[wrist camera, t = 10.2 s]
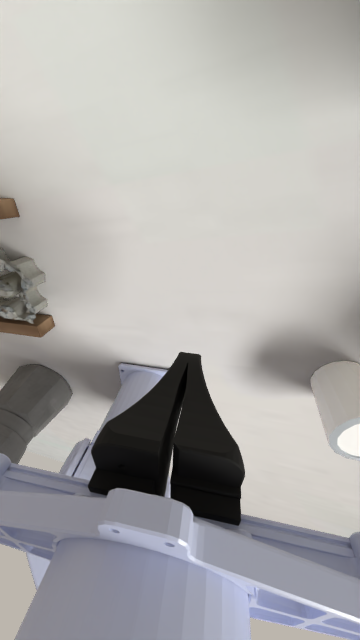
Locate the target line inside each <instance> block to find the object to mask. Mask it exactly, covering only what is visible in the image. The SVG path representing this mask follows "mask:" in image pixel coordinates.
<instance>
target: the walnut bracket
mask: <svg viewBox="0 0 360 640" xmlns="http://www.w3.org/2000/svg"><path fill="white" fill-rule="evenodd" d="M13 217H20V216H19V213H18V210H17V207H16V204H15V201H14V199H11V198H0V219H6V218H13ZM35 316H36V318H35V319H34V321H33V323H35V324H31V323H29V322H28V321H22V320H15V319H8V318H4V317H2V316H0V332H4V333H12V334H19V335H26V336H33V337H42V336H44V335H45V334H46V333H47V332H48V331H50V330H51V329H52V328H53V327H54V326H55V324H54V321H53V318H52V316H50V315H42V314H35Z"/></svg>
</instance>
